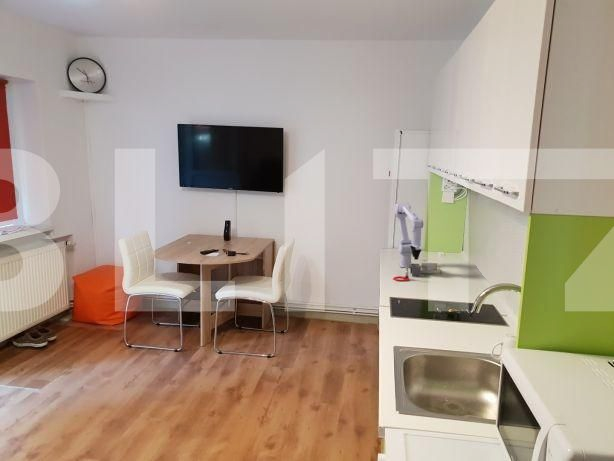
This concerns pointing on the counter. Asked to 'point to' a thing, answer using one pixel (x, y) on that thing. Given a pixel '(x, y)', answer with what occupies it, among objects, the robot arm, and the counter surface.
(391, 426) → the counter surface
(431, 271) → the tray
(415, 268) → the bracket
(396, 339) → the counter surface
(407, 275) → the tow hook
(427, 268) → the pin
